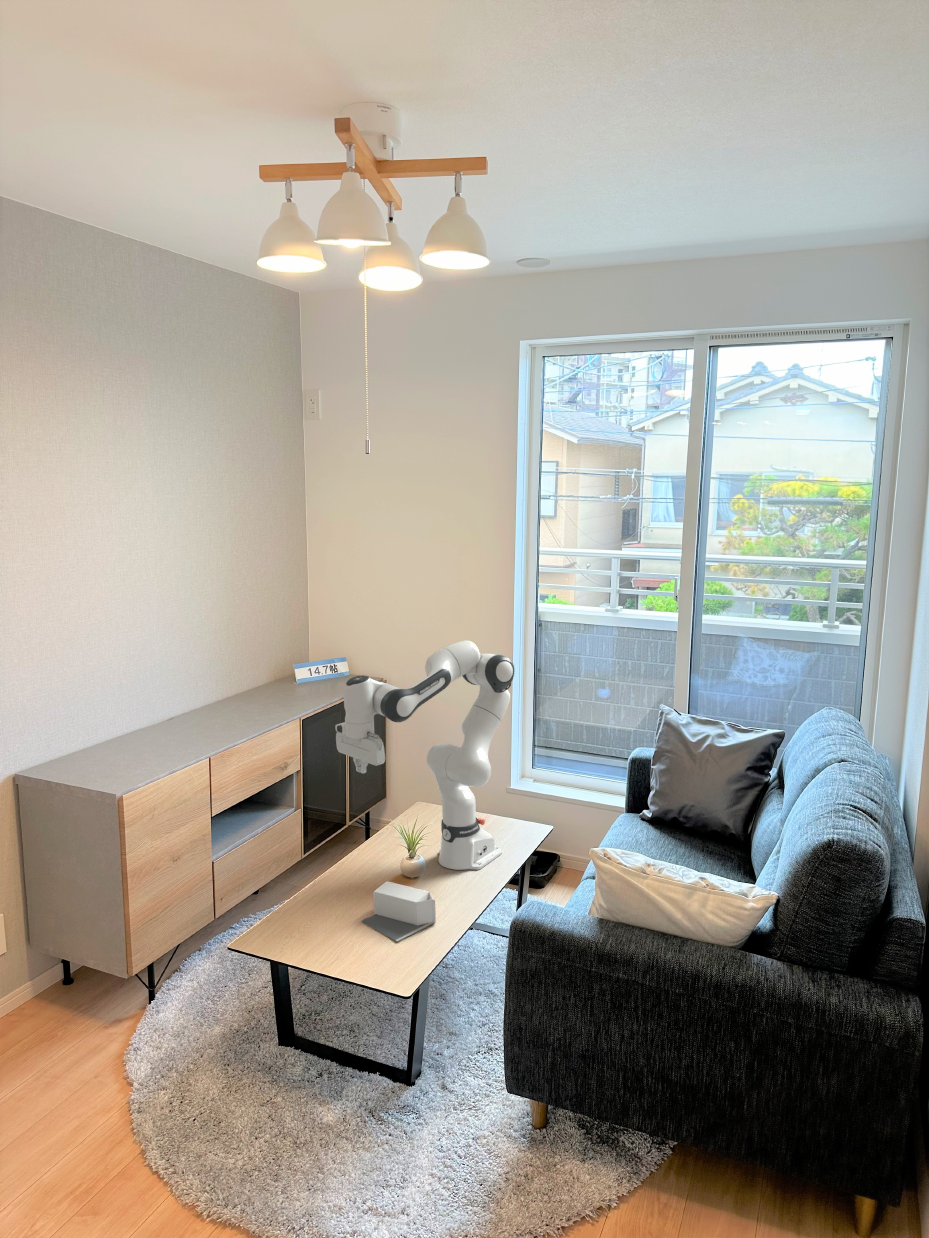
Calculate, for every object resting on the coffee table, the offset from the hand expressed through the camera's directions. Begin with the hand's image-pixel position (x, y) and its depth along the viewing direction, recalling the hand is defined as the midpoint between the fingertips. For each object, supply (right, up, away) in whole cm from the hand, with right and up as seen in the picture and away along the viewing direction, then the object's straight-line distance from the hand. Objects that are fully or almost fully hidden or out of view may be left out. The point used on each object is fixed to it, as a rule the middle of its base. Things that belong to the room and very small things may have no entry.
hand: (361, 772), depth 256 cm
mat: (+13, -40, -17) cm, 46 cm away
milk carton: (+7, -35, -10) cm, 37 cm away
